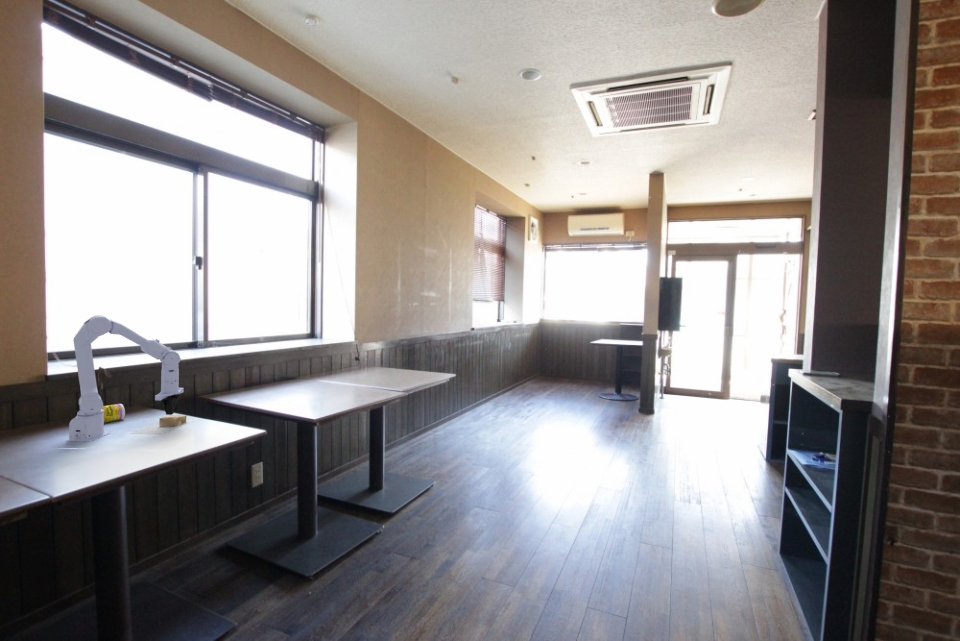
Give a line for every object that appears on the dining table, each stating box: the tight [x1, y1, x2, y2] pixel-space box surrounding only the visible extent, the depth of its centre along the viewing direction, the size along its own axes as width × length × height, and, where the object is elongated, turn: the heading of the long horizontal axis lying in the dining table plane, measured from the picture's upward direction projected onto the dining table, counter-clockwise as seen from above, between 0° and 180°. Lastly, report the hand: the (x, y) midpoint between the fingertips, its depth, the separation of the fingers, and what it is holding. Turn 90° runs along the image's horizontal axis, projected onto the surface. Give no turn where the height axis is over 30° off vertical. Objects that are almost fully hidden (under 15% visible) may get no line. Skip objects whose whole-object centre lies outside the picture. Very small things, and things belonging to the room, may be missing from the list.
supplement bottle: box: [102, 403, 126, 424], centre depth 178 cm, size 7×7×13 cm
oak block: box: [158, 414, 187, 426], centre depth 179 cm, size 3×6×7 cm
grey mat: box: [130, 423, 181, 435], centre depth 172 cm, size 12×11×1 cm
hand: (169, 414), depth 177 cm, fingers closed
